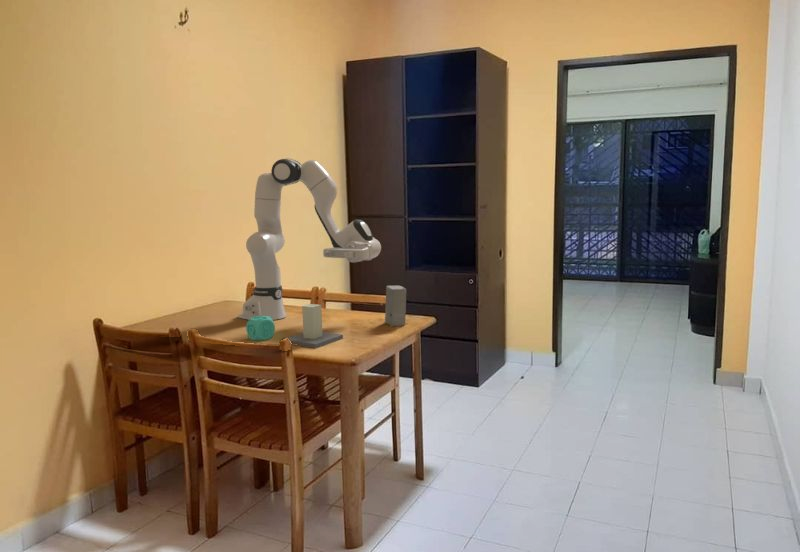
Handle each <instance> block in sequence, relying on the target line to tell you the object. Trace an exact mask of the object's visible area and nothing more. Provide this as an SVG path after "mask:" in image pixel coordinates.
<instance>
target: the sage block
mask: <svg viewBox="0 0 800 552" xmlns="http://www.w3.org/2000/svg"><path fill="white" fill-rule="evenodd" d="M301 307H302V309H301V310H302V311H301V312H302V328H303V329H302V331H303V332H302V333H303V335H304V338H310V339H315V338H318V337H321V336H322V332H323V320H322V319H323V317H322V316H323V315H322V312H323V311H322V304H315V303H310V304H305V305H302V306H301Z"/></svg>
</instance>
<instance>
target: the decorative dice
mask: <svg viewBox="0 0 800 552" xmlns="http://www.w3.org/2000/svg"><path fill="white" fill-rule="evenodd" d="M246 322H247V323H246V327H245V329H246V334H247V336H248V338H249V339H250V340H251V341H255V342H256V341H257V342H258V341H267V340H271V338H273V336H274V335H275V330H276V328H275V327H276V325H275V321H274V320H272V319H271V318H270V317H269V316H256V317H252V318H250V319H249V320H247V321H246Z"/></svg>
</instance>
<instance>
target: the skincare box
mask: <svg viewBox="0 0 800 552" xmlns="http://www.w3.org/2000/svg"><path fill="white" fill-rule="evenodd" d="M406 308H407V288H405V287H404V286H401V285H386V288H385V308H384V310H385V311H384V312H385V313H384V323H385V324H387V325H389V326H390V327H400V326H401V327H402V326H405V325H406V313H407V312H406V311H407V309H406Z"/></svg>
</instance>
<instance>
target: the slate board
mask: <svg viewBox="0 0 800 552" xmlns="http://www.w3.org/2000/svg"><path fill="white" fill-rule="evenodd" d="M287 338H288V339H289V340H290V341H291V343H292V344H297V345H296V346H299V345H301V346H300V347H305V346H307V347H308V348H312V347H313V349H314V348H315V349H318V348H320V346H321V347H323V346H327V345H328V344H331V343H335V342H338V341H340V340H343V339H344V334H343V333H334V332H326V331H322V336H321V337H318V338H315V339H310V338H304V335H303V332H301V333H298V334H294V335H291V336H287ZM292 344H291V345H292Z"/></svg>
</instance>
